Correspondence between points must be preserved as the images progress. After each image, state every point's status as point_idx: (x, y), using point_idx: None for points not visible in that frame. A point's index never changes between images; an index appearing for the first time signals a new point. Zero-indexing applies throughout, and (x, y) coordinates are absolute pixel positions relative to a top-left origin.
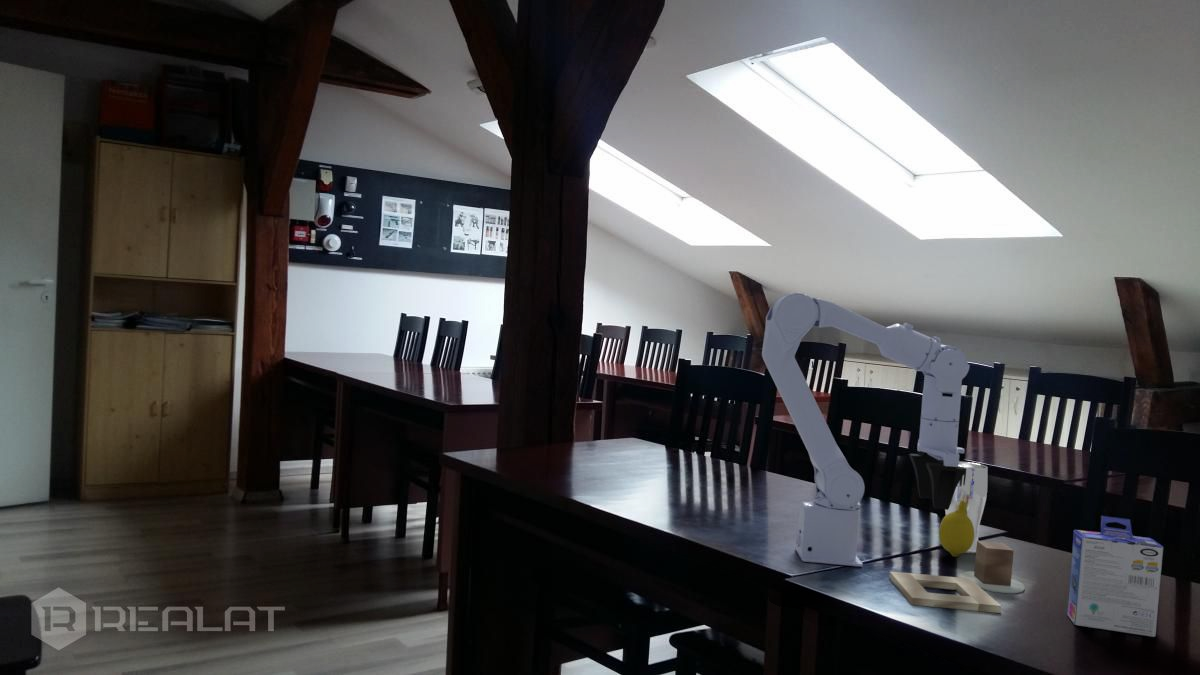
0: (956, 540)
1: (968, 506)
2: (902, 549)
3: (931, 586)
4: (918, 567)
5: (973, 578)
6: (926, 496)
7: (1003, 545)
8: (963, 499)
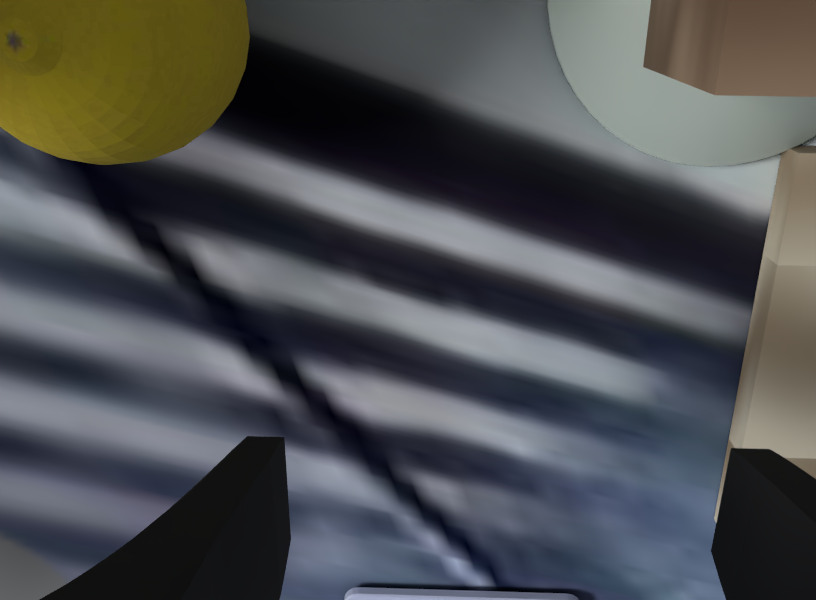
0: (244, 67)
1: None
2: (137, 310)
3: None
4: (491, 327)
5: (703, 93)
6: (282, 505)
7: None
8: None
